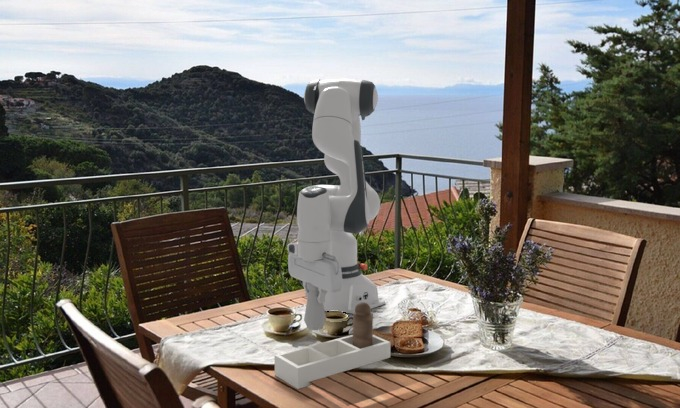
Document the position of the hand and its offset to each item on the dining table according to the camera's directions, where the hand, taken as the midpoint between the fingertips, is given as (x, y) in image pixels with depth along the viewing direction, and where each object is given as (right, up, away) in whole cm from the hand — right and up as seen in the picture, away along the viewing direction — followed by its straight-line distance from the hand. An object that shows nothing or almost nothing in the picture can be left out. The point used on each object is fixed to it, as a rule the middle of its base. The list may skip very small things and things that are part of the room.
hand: (315, 300), depth 177 cm
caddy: (+5, -15, -12) cm, 20 cm away
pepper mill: (+12, -13, -7) cm, 19 cm away
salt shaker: (0, -8, +1) cm, 8 cm away
